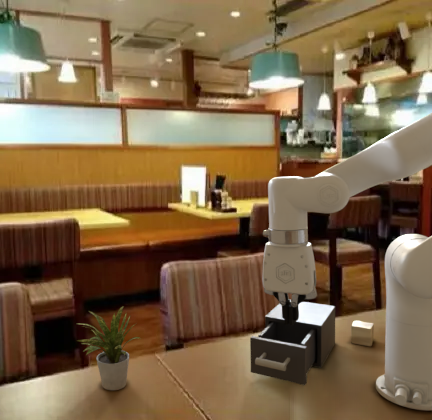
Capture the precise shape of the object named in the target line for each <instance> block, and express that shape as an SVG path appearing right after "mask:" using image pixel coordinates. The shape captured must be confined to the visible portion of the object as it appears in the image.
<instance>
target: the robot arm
mask: <svg viewBox="0 0 432 420" xmlns="http://www.w3.org/2000/svg"><path fill="white" fill-rule="evenodd" d="M431 166H432V112H429V113H428V114H427V115H425V116H422V117H421V118H419V119H416V120H414V121H413V122H411V123H410V124H408V125H405V126H404V127H402V128H400V129H399V130H396V131H394V132H392V133H390V134H388V135H387V136H385V137H384V138H381V139H380V140H377V141H376V142H375V143H373V144H372V145H370V146H368V147H367V148H365V149H363V150H361V151H360V152H357V153H356V154H354V155H352V156H350V157H347V158H346V159H344V160H342V161H340V162H338V163H337V164H334V165H333V166H331V167H329V168H327V169H325V170H323V171H322V172H320V173H318V174H316V175H314V176H311V177H302V176H297V175H296V176H295V175H293V176H291V175H290V176H289V175H288V176H276V177H273V178H271V179H270V180H269V181H268V183H267V195H268V196H267V198H268V201H267V202H268V223H269V224H268V229H265V230H263V232H262V237H265V238H268V242H266V243H265V246H264V252H263V260H262V277H261V278H262V280H261V281H262V287H263V292H264V293H265V294H267V295H270V296H273V297H274V298H275V299H276V300H277V301H278V302H279V303H280V305H282V318H283V319H284V320H285V324H286V325H288V324H290V325H294V323H295V322H296V321H298V319H299V308H298V304H300V303H301V302H304V300H314V299H316V298H317V297H318V292H317V289H316V287H317V269H316V261H315V256H314V250H313V246H312V243H311V242H309V234H308V231H309V229H308V212H309V213H318V214H319V213H320V214H334V213H338V212H339V211H342V210H343V209H344V208H345V207H346V206H347V205H348V203H349V201H350V198H352V197H354V196H356V195H358V194H359V193H362V192H364V191H366V190H368V189H370V188H373V187H375V186H378V185H381V184H385V183H388V182H394V181H398V180H403V179H405V178H408V177H410V176H413V175H415V174H417V173H419V172H421V171H423V170H425V169H427V168H429V167H431ZM384 276H385V277H384V278H385V337H384V338H385V341H384V345H385V346H384V374H382V375H379V376H378V377H377V378H376V380H375V389H376V391H377V392H378V394H379V395H381V396H382V397H383V398H384V399H386V400H387V401H389V402H391V403H393V404H395V405H398V406H401V407H403V408H404V407H405V408H407V409H412V410H417V411H427V412H428V411H432V235H431V236H429V237H428V236H427V235H424V234H419V233H407V234H402V235H400V236H398V237H397V238H395V239H394V240H393V241H391V242H390V244H389V245H388V247H387V249H386V252H385V255H384ZM289 294H291V299H290V296H289ZM290 300H291V302H290Z"/></svg>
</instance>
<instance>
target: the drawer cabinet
mask: <svg viewBox="0 0 432 420" xmlns="http://www.w3.org/2000/svg"><path fill="white" fill-rule="evenodd" d="M289 300H290V302H291V300H292V299H289ZM298 308H299V319H298V321H296V322H295V323H294V325H297V326H303V327H308V328H314V329H317V358H316V360H315V361H314V363H313V365H312V366H311V367H315V368H320V369H322V367H323V366H324V364H325V362H326V361H327V359H328V357H329V355H330V353H331V352H332V350H333V348H334V347H335V345H336V306H335V305H330V304H322V303H316V302H309V301H302V302H301V303H300V304H298ZM272 321H273V322H279V323H285V320H284V319H283V318H282V305H280V302H279V303H278V304H277V305H276V306H275V307H274V308H272V310H270V312H268V313H267V314H266V315H265V316H264V329H265V328H266V327H267V326H268V325H269V324H270V323H271V322H272Z"/></svg>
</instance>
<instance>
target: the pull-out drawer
mask: <svg viewBox="0 0 432 420" xmlns="http://www.w3.org/2000/svg"><path fill="white" fill-rule="evenodd" d="M249 338H250V339H249V342H250V343H249V346H250V349H249V350H250V351H249V352H250V373H251V374H256V375H260V376H264V377H268V378H272V379H277V380H280V381H284V382H285V381H286V382H289V383H293V384H296V385H301V386H306V385H307V382H308V381H307V380H308V372H309V371H310V369H311V368H312V367H313V366H312V365H313V363H314V361H315V360H316V358H317V329H314V328H308V327H303V326H297V325H290V324H288V325H286V324H285V323H279V322H273V321H272V322H271V323H270V324H269V325H268V326H267V327H266V328H265V327H264V329H263V330H262V331H261V332H260V333H258V335H257V336H256V335H251V336H250V337H249Z"/></svg>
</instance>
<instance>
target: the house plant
mask: <svg viewBox="0 0 432 420" xmlns="http://www.w3.org/2000/svg"><path fill="white" fill-rule="evenodd" d="M123 309H124V305H122V306H121V307H120V308H119V309H118V311H117V312H114V313H113V315H112V318H111V321H110V328H109V327H108V325H107V323H106V321H105V319H104V317H102V316H99V315H98V314H96V313H95V312H93V311H90V310H88V312H89V313H90V314H92V315H93V316H94V317H95V319H96V321H97V323H98V325H99V328H100V329H101V330H102V332H103V333H102V332H101V331H99V330H98V328H97V327H94V326H93V325H92V324H88V323H77V325H83V326H86V327H87V328H88V329H91V332H93V334H94V335H95V336H92V337H91V338H88V339H85V338H84V339H78V340H76V341H77V342H80V343H81V345H88V346H87V347H86V348H85V349H84V350H83V351H82V352H83V353H84V352H85V351H87V352H86V354H85V356H87V355H89V354H91V353H93V352H95V351H98V352H99V354H98V355H96V363H97V368H98V372H99V376H100V382H101V386H102V388H103V389H105V390H107V391H118V390H121V389H123V388H125V387H126V386H127V381H128V371H129V363H130V362H129V361H130V353H129V352H127V351H126V350H123V349H124V347H125V346H126V345H127V344H128V343H129V342H130V341H132V340H135V339H141V340H142V338H141V337H139V336H136V337H135V336H134V337H132V338H130V339H128V340H127V341H126V342H125V343H124V344H123V342H124V341H125V337H126V336H127V334H129V332H130V331H131V330H132V328H133V327H134V326H135V325H136V323H135V324H133V325H132V326H130V327H129V329H128V330H127V327H128V325H129V322H130V319H131V316H128V319H127V311H125V314H124V316H123V318H122V314H123V312H124V310H123ZM121 318H122V321H121ZM126 319H127V320H126ZM120 321H121V325H120ZM119 326H120V327H119ZM92 328H93V329H92ZM126 330H127V331H126ZM125 331H126V332H125ZM122 344H123V345H122Z"/></svg>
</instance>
